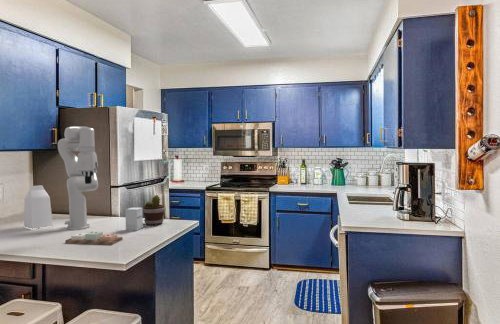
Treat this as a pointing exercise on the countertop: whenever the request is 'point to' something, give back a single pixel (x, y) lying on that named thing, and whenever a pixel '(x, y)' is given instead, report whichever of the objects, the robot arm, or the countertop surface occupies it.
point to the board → (94, 241)
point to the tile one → (78, 236)
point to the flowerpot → (153, 211)
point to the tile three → (108, 237)
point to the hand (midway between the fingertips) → (88, 183)
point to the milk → (37, 208)
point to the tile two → (93, 235)
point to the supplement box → (134, 219)
